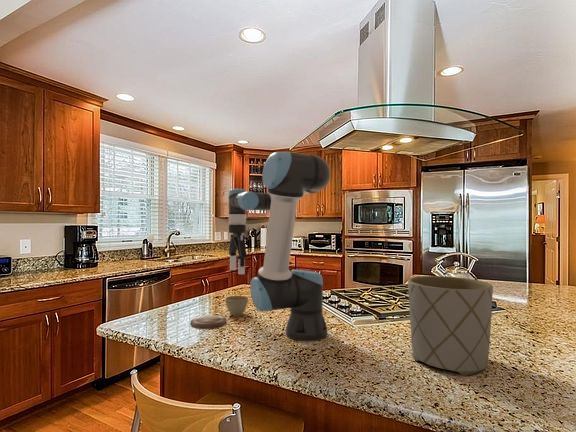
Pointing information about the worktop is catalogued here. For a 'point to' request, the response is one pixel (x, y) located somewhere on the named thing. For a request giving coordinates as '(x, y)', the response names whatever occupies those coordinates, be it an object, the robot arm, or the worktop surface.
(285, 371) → the worktop surface
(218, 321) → the disc
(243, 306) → the flower pot
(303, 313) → the robot arm
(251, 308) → the worktop surface
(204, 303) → the worktop surface
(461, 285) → the planter
